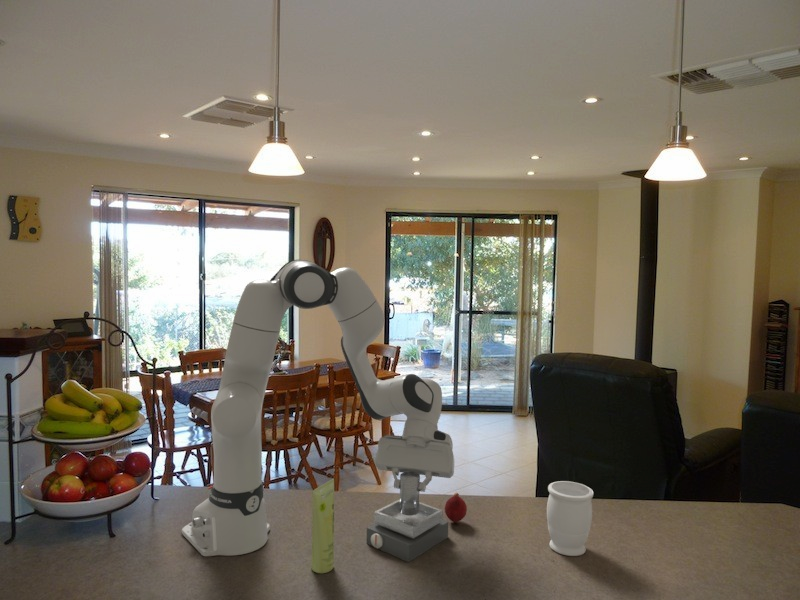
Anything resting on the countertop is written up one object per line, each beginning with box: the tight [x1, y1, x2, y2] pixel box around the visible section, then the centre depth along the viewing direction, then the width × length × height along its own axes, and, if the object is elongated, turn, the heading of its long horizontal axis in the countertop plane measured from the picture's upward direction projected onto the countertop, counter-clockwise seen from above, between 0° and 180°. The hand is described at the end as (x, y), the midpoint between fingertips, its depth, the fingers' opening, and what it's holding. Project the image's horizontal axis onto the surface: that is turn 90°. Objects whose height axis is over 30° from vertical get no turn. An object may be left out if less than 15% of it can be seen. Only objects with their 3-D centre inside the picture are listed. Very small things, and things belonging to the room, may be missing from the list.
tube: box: [310, 478, 335, 574], centre depth 129 cm, size 6×5×20 cm
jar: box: [546, 480, 594, 557], centre depth 142 cm, size 11×10×15 cm
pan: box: [373, 498, 444, 539], centre depth 144 cm, size 12×12×3 cm
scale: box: [366, 519, 449, 563], centre depth 144 cm, size 13×17×4 cm
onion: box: [444, 492, 468, 524], centre depth 154 cm, size 6×6×8 cm
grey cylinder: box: [399, 472, 421, 515], centre depth 143 cm, size 5×5×9 cm
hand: (409, 489), depth 143 cm, fingers closed on grey cylinder, 5 cm apart
